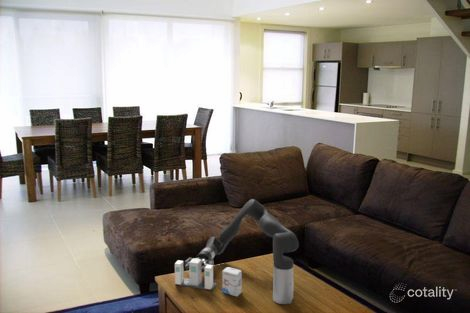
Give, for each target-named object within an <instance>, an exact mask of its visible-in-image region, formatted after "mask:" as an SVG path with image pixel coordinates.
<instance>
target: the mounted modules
mask: <svg viewBox="0 0 470 313" xmlns="http://www.w3.org/2000/svg"><path fill="white" fill-rule="evenodd" d="M184 270H185V260H179V259H178V260H176V262H175V263H174V284H180V285H179V286H181V284H182V283H183V282H184V278H185V271H184ZM204 281H205V289H204V290H206V289H211V288H212V287H213V283H214V266H213V265H209V264H207V266H206V267H205V271H204Z"/></svg>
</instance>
